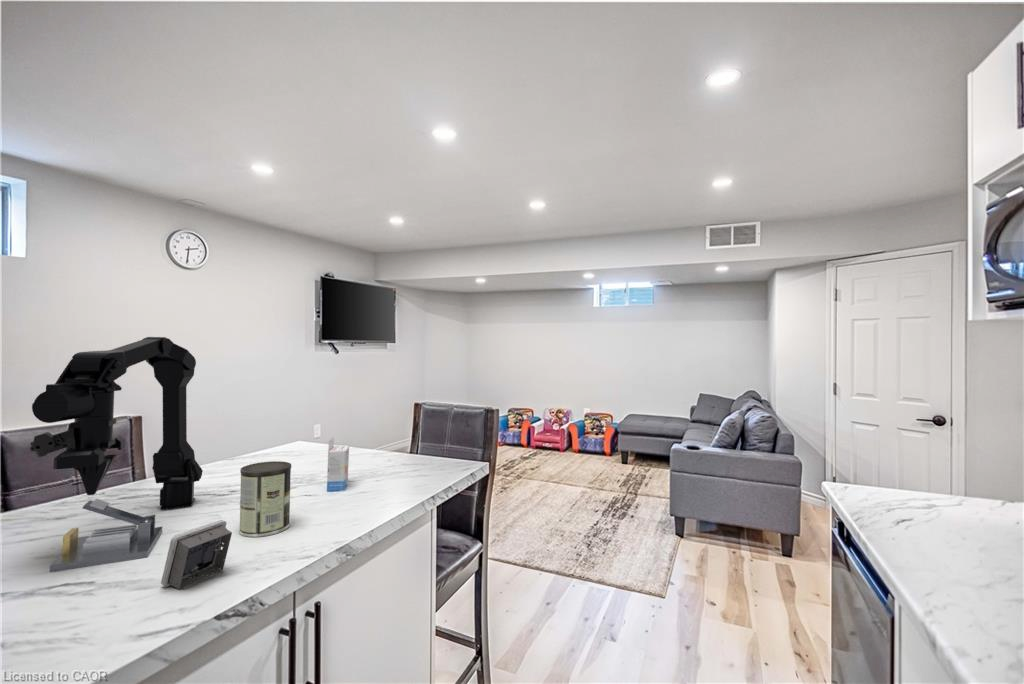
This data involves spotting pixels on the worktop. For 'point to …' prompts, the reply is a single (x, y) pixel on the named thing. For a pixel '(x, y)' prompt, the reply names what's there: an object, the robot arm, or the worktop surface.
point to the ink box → (337, 467)
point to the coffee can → (265, 498)
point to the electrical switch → (196, 555)
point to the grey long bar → (114, 512)
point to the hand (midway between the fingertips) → (91, 494)
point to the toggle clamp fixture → (107, 545)
